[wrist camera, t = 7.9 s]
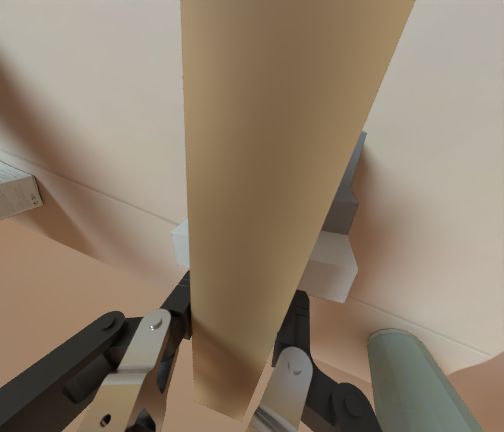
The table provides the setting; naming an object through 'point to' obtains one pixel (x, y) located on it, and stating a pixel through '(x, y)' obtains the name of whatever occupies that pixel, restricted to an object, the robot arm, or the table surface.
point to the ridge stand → (326, 247)
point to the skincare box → (17, 192)
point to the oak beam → (267, 161)
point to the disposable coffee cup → (413, 387)
